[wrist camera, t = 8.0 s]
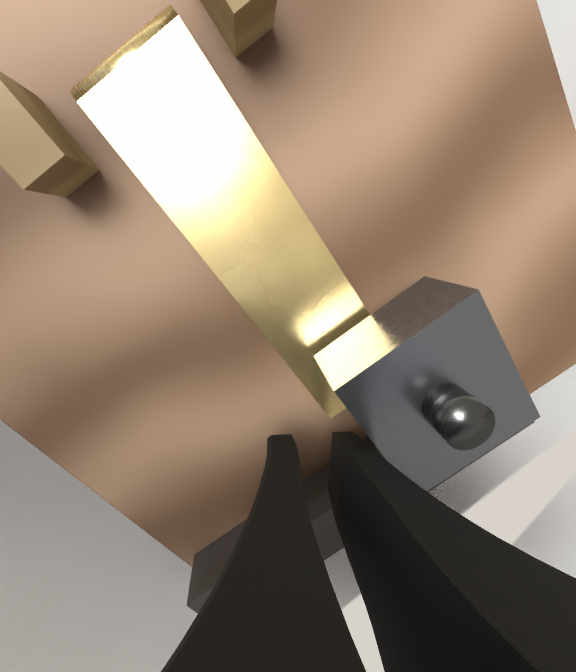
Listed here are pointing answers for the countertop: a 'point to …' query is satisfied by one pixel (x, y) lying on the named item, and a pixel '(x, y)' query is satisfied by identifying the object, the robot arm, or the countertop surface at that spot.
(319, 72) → the brown wooden board
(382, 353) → the knobbed plate
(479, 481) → the countertop surface
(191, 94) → the yellow rectangular block
